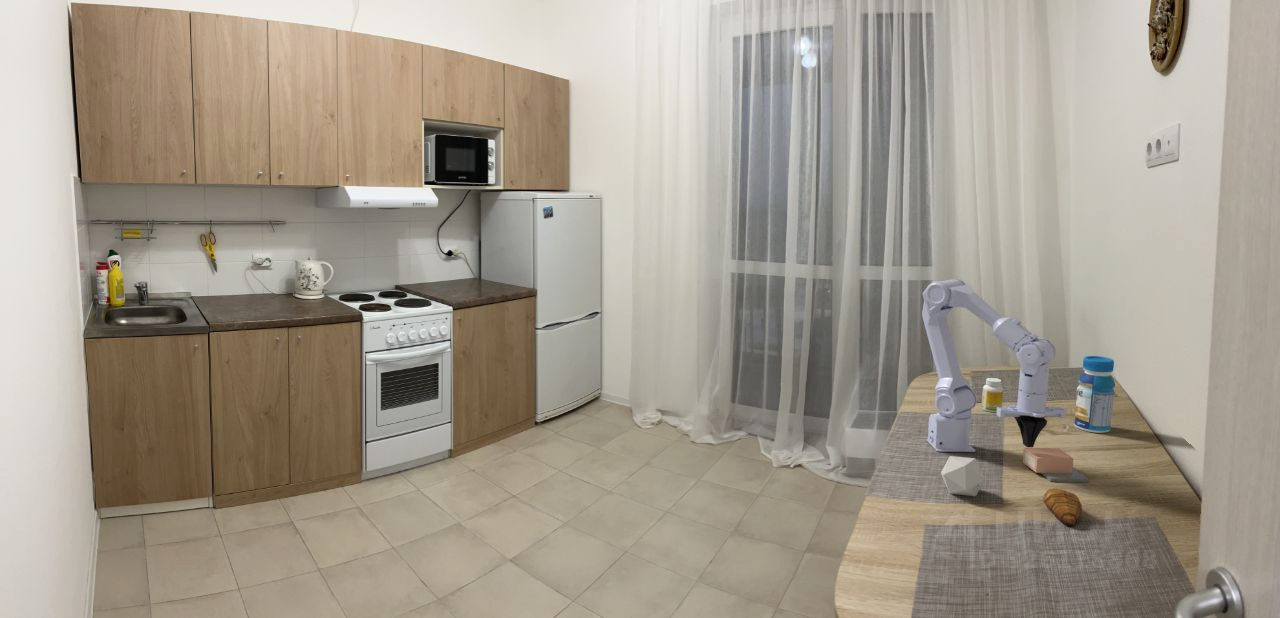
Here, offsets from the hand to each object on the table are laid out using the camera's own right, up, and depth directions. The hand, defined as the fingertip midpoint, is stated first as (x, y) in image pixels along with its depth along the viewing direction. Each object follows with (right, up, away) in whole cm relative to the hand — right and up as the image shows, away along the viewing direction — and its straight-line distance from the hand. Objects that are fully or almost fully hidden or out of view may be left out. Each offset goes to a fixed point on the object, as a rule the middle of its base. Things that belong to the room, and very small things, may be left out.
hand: (1028, 445), depth 146 cm
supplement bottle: (+15, +1, +42) cm, 45 cm away
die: (-20, -9, -9) cm, 24 cm away
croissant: (-5, -10, -18) cm, 21 cm away
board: (+6, -6, 0) cm, 9 cm away
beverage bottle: (+34, -1, +25) cm, 42 cm away
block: (+1, -4, 0) cm, 4 cm away
